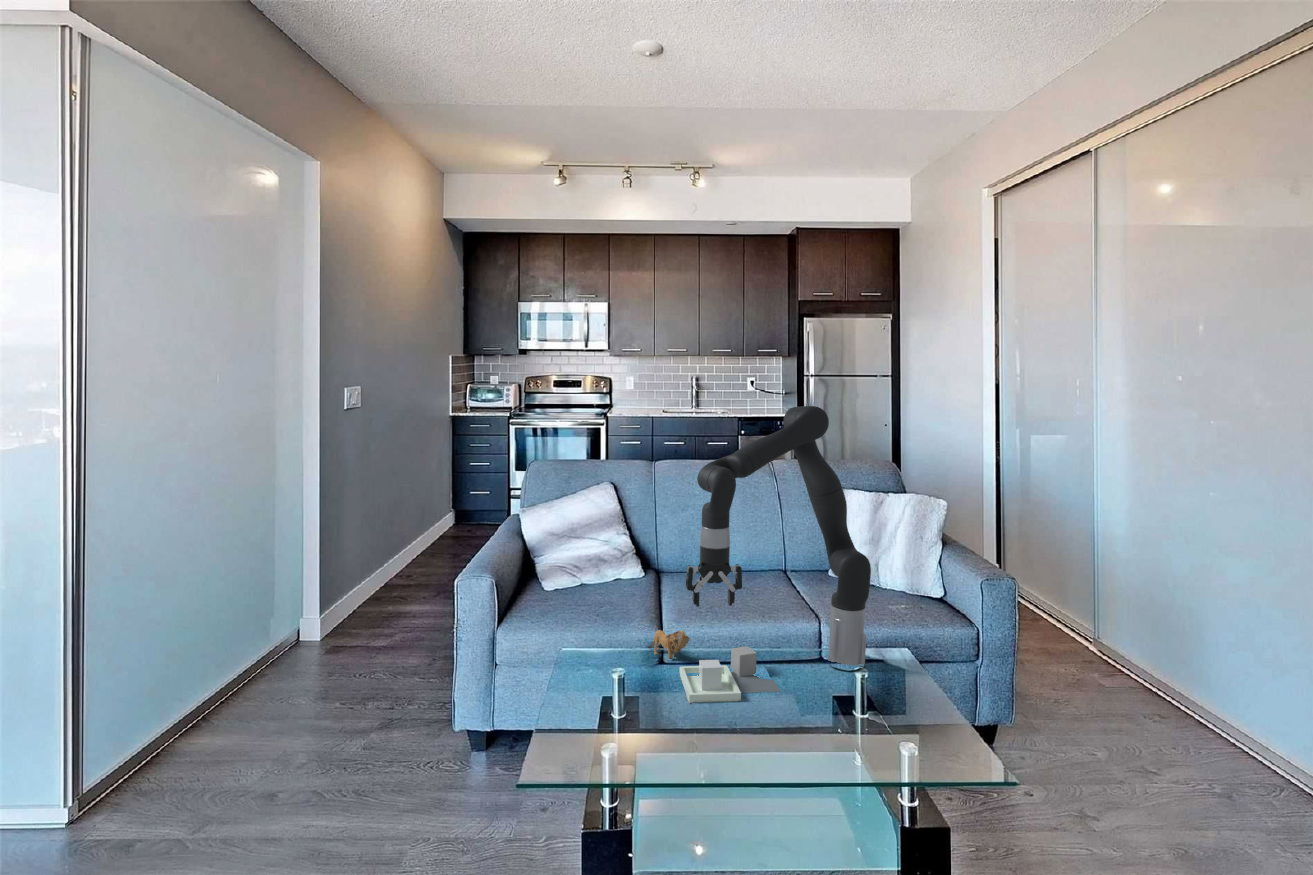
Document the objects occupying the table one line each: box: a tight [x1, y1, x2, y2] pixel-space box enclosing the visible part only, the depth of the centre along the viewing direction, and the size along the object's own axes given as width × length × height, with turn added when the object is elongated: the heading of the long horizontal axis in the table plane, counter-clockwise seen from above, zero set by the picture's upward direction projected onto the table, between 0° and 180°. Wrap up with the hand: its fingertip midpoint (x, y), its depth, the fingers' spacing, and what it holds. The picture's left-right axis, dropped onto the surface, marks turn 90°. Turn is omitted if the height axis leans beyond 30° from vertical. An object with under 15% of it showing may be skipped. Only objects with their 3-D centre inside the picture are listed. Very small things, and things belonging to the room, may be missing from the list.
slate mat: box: [731, 672, 782, 694], centre depth 206 cm, size 11×16×1 cm
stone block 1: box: [698, 659, 722, 691], centre depth 200 cm, size 5×5×6 cm
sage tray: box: [679, 664, 742, 705], centre depth 200 cm, size 13×17×2 cm
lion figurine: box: [647, 629, 691, 660], centre depth 220 cm, size 15×5×9 cm, turn 48°
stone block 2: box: [730, 645, 758, 677], centre depth 209 cm, size 5×5×6 cm
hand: (713, 605), depth 198 cm, fingers open, 8 cm apart
